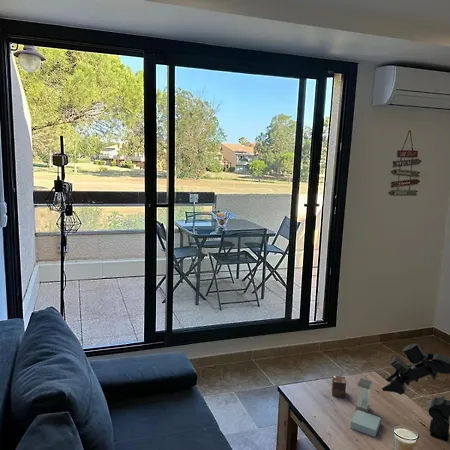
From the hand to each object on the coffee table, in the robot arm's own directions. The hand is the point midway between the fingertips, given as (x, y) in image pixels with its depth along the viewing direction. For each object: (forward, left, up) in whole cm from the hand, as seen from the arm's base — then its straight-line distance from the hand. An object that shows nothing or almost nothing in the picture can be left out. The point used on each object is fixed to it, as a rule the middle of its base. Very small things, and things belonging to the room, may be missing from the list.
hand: (384, 384), depth 178 cm
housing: (+8, 0, -15) cm, 17 cm away
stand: (+4, +12, -14) cm, 19 cm away
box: (+21, -6, -15) cm, 26 cm away
